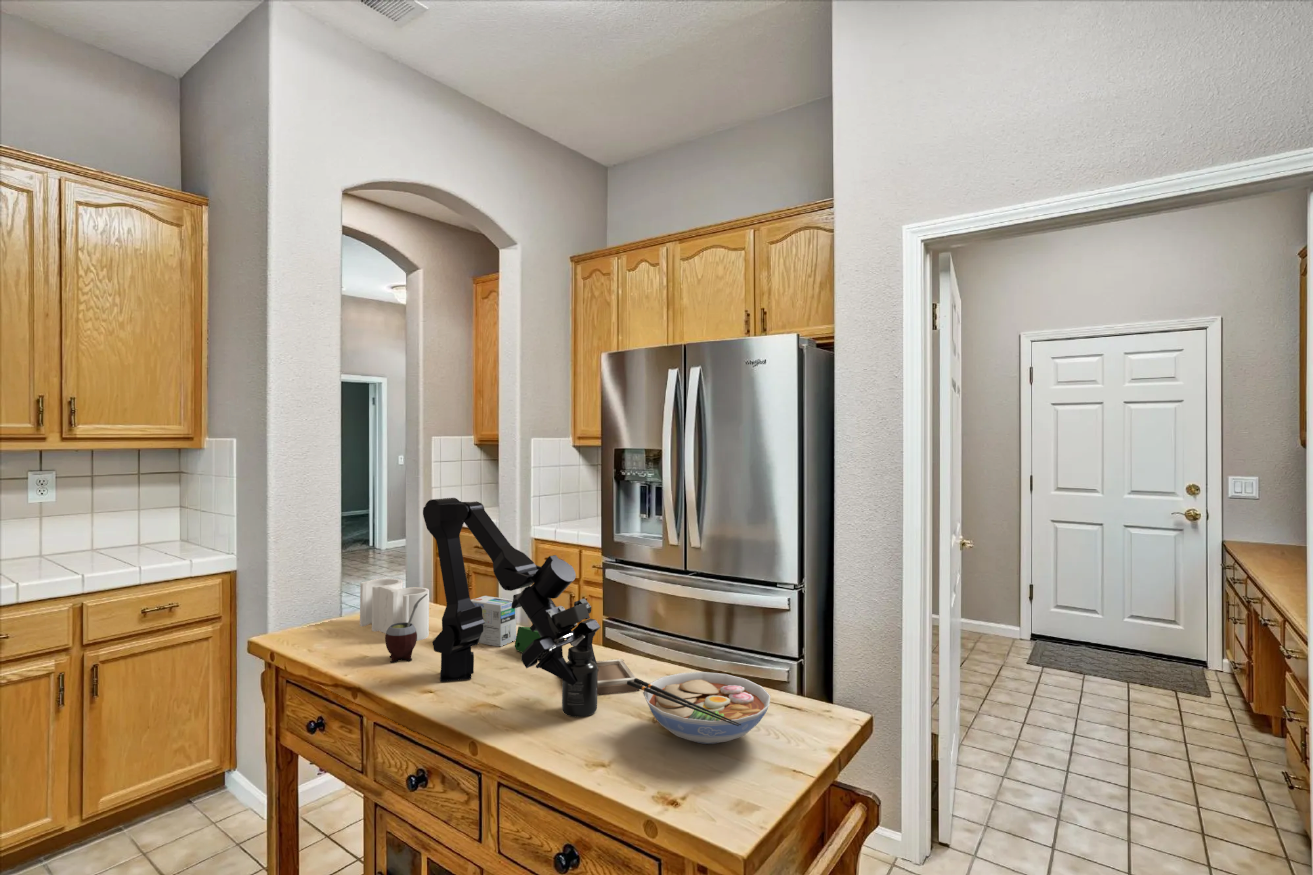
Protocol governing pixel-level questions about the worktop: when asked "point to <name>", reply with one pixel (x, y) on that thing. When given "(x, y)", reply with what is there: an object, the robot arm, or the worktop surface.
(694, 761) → the worktop surface
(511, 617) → the light bulb box
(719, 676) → the ramen bowl
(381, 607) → the white piece
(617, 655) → the worktop surface
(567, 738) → the worktop surface
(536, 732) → the worktop surface
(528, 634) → the clamp
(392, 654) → the mate gourd
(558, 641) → the robot arm
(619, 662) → the beige square tray
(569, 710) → the supplement bottle
